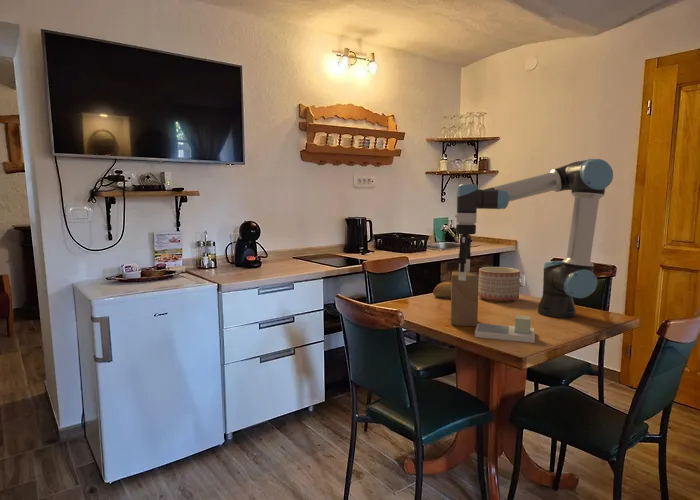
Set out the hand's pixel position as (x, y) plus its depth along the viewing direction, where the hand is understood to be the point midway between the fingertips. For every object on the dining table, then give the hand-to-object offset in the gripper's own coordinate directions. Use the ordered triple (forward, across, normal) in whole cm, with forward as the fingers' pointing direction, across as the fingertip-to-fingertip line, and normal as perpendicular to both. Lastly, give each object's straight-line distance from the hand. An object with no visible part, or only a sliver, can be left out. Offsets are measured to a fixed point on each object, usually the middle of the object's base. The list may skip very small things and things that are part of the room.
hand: (464, 277), depth 184 cm
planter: (+18, -51, +11) cm, 56 cm away
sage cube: (+16, +12, +22) cm, 30 cm away
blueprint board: (+18, +12, +16) cm, 27 cm away
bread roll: (+19, -47, -13) cm, 52 cm away
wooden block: (+19, 0, 0) cm, 19 cm away
